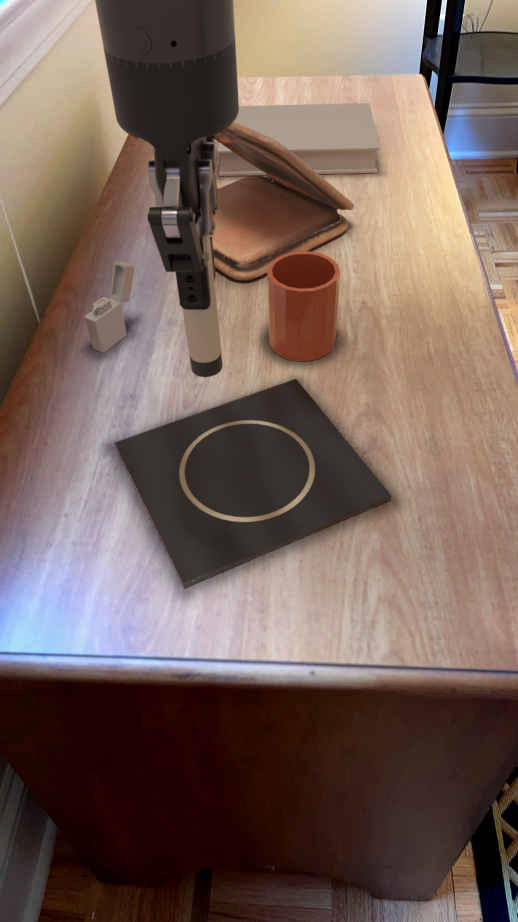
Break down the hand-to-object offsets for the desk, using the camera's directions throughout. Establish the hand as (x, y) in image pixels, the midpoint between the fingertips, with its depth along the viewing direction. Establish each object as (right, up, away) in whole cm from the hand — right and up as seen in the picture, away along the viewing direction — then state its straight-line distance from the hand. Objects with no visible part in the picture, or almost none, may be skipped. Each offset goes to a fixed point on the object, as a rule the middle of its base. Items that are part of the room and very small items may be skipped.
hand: (198, 293), depth 52 cm
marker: (0, -5, +5) cm, 7 cm away
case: (+4, +19, +43) cm, 47 cm away
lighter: (-12, +2, +28) cm, 30 cm away
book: (+11, +38, +59) cm, 71 cm away
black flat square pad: (+3, -14, +13) cm, 19 cm away
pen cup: (+9, +1, +26) cm, 27 cm away
